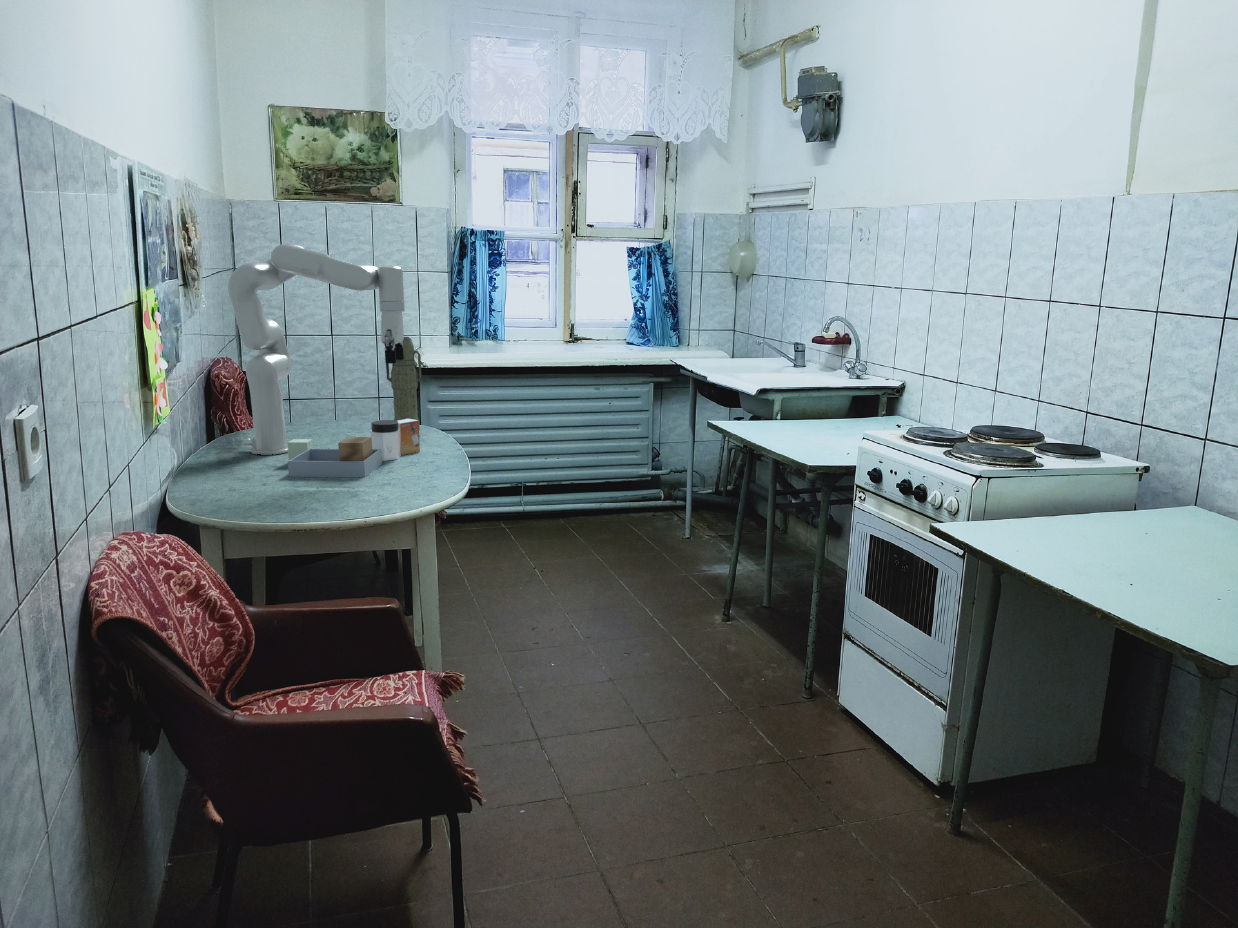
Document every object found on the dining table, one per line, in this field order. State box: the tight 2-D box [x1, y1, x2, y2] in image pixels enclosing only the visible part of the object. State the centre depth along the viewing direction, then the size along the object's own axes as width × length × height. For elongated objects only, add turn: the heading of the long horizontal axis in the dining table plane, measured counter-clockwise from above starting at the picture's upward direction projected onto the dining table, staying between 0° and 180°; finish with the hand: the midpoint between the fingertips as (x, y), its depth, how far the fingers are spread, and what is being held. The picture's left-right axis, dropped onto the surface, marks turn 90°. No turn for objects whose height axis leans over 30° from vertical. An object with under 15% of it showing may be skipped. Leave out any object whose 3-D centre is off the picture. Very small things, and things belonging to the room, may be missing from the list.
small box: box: [398, 419, 421, 456], centre depth 293 cm, size 8×6×10 cm
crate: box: [287, 448, 383, 478], centre depth 267 cm, size 22×17×5 cm
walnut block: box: [337, 436, 373, 461], centre depth 266 cm, size 7×9×9 cm
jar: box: [370, 419, 402, 462], centre depth 282 cm, size 9×8×12 cm
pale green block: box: [286, 438, 314, 461], centre depth 279 cm, size 6×5×7 cm
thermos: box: [385, 336, 422, 438], centre depth 315 cm, size 9×12×35 cm
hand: (394, 361), depth 286 cm, fingers open, 9 cm apart
